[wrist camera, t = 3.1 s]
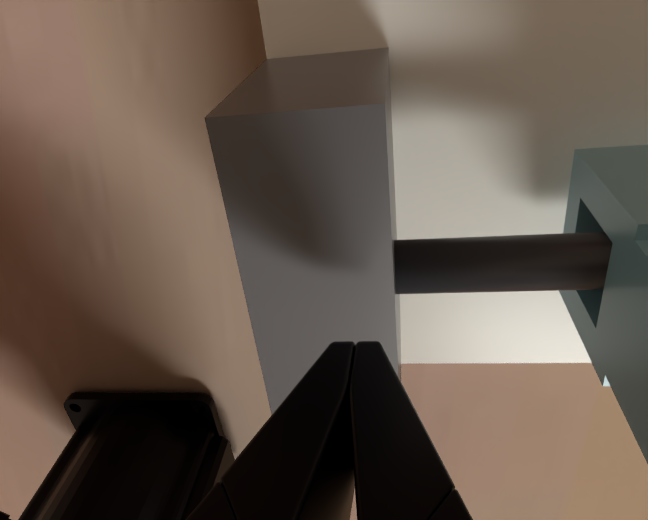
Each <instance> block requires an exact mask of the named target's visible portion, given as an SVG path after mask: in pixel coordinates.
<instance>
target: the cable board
mask: <svg viewBox="0 0 648 520" xmlns="http://www.w3.org/2000/svg"><path fill="white" fill-rule="evenodd" d="M258 6H259V13H260V19H261V26H262V32H263V38H264V45H265V51H266V58H267V59H266V60H265V61H264V62H263V63H262V64H261V65H260V66H259V67H258V68H257V69H256V70H255V71H254V72H253V73H252V74H250V75H249V76H248V77H247V78H246V79H245V80H244V81H243V82H242V83H241V84H240V85H239V86H238V87H237V88H236V89H235V90H234V91H232V92H231V93H230V94H229V95H228V96H227V97H226V98H225V99H224V100H223V101H222V102H221V103H220V104H219V105H218V106H217V107H216V108H214V109H213V110H212V111H211V112H210V113H209V114H208V115H207V116H206V117H205V121H206V126H207V130H208V135H209V139H210V143H211V148H212V152H213V157H214V161H215V166H216V170H217V174H218V179H219V183H220V188H221V192H222V197H223V201H224V205H225V210H226V214H227V219H228V223H229V228H230V232H231V236H232V241H233V245H234V250H235V254H236V259H237V263H238V267H239V272H240V276H241V281H242V285H243V289H244V294H245V298H246V303H247V307H248V312H249V316H250V320H251V325H252V329H253V334H254V338H255V343H256V347H257V351H258V356H259V360H260V365H261V369H262V374H263V378H264V382H265V387H266V391H267V396H268V400H269V405H270V409H271V413H272V414H273V413H274V412H275V411H276V409H277V408H278V407H279V406H280V404H281V403H282V402H283V401H284V400H285V398H286V397H287V396H288V395H289V393H290V392H291V391H292V390H293V389H294V387H295V386H296V385H297V384H298V382H299V381H300V380H301V379H302V378H303V376H304V375H305V374H306V373H307V371H308V370H309V369H310V368H311V366H312V365H313V364H314V363H315V362H316V360H317V359H318V358H319V357H320V355H321V354H322V353H323V352H324V351H325V349H326V348H327V347H328V346H329V344H330V343H332V342H335V341H353V342H354V343H355V344H356V343H357V342H359V341H378V342H380V343H381V345H382V346H383V348H384V350H385V352H386V354H387V356H388V358H389V360H390V362H391V364H392V366H393V368H394V370H395V371H396V373H397V375H398V377H399V379H400V381H401V363H592V362H591V360H590V357H589V355H588V353H587V351H586V349H585V347H584V344H583V342H582V340H581V338H580V336H579V334H578V331H577V329H576V327H575V325H574V323H573V321H572V318H571V316H570V314H569V312H568V310H567V307H566V305H565V303H564V301H563V299H562V297H561V294H560V292H559V291H560V290H604V285H605V280H606V275H607V269H608V264H609V259H610V254H611V249H612V244H613V243H612V241H611V240H610V239H609V237H608V236H607V234H606V233H605V232H587V233H563V230H564V223H565V215H566V208H567V201H568V194H569V186H570V179H571V172H572V165H573V158H574V150H575V149H586V148H602V147H618V146H634V145H648V0H258Z"/></svg>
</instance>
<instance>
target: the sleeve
mask: <svg viewBox="0 0 648 520" xmlns="http://www.w3.org/2000/svg"><path fill="white" fill-rule="evenodd" d="M587 232H605V233H606V234H607V236H608V237H609V239H610V240H611V241H612V243H613V244H612V249H611V254H610V259H609V264H608V269H607V275H606V280H605V285H604V290H560V291H559V292H560V294H561V297H562V299H563V301H564V303H565V305H566V307H567V310H568V312H569V314H570V316H571V318H572V321H573V323H574V325H575V327H576V329H577V331H578V334H579V336H580V338H581V340H582V342H583V344H584V347H585V349H586V351H587V353H588V355H589V357H590V360H591V362H592V364H593V366H594V368H595V370H596V373H597V375H598V377H599V379H600V381H601V384H602V386H611V388H612V390H613V392H614V394H615V396H616V399H617V401H618V403H619V405H620V407H621V409H622V411H623V413H624V415H625V417H626V420H627V422H628V424H629V426H630V428H631V430H632V432H633V434H634V436H635V438H636V440H637V443H638V445H639V447H640V449H641V451H642V453H643V455H644V457H645V459H646V461H647V463H648V145H634V146H618V147H602V148H586V149H575V150H574V158H573V165H572V172H571V179H570V186H569V194H568V201H567V208H566V215H565V223H564V230H563V233H587Z"/></svg>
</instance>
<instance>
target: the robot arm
mask: <svg viewBox="0 0 648 520" xmlns="http://www.w3.org/2000/svg"><path fill="white" fill-rule="evenodd" d="M200 405H201V406H200ZM64 408H65V410H66V412H67V414H68V416H69V418H70V420H71V422H72V424H73V426H74V428H75V430H76V431H75V433H74V434H73V436H72V438H71V439H70V441H69V442H68V444H67V445H66V447H65V448H64V450H63V451H62V453H61V454H60V456H59V458H58V459H57V461H56V462H55V464H54V465H53V467H52V468H51V470H50V471H49V473H48V475H47V476H46V478H45V479H44V481H43V482H42V484H41V485H40V487H39V488H38V490H37V491H36V493H35V495H34V496H33V498H32V499H31V501H30V502H29V504H28V505H27V507H26V508H25V510H24V512H23V513H22V515H21V516H20V518H19V519H18V520H350V513H351V507H352V501H353V494H354V488H355V494H356V508H357V520H473V519H472V517H471V515H470V514H469V512H468V510H467V508H466V506H465V504H464V502H463V500H462V498H461V496H460V494H459V493H458V491H457V490H456V489H455V486H454V483H453V482H452V480H451V478H450V476H449V474H448V472H447V470H446V468H445V466H444V464H443V462H442V460H441V458H440V456H439V455H438V453H437V451H436V449H435V447H434V445H433V443H432V441H431V439H430V437H429V435H428V433H427V431H426V429H425V427H424V426H423V424H422V422H421V420H420V418H419V416H418V414H417V412H416V410H415V408H414V406H413V404H412V402H411V400H410V399H409V397H408V395H407V393H406V391H405V389H404V387H403V385H402V383H401V381H400V379H399V377H398V375H397V373H396V371H395V370H394V368H393V366H392V364H391V362H390V360H389V358H388V356H387V354H386V352H385V350H384V348H383V346H382V345H381V343H380V342H378V341H359V342H357V343H356V344H355V343H354V342H353V341H335V342H332V343H330V344H329V346H328V347H327V348H326V349H325V351H324V352H323V353H322V354H321V355H320V357H319V358H318V359H317V360H316V362H315V363H314V364H313V365H312V366H311V368H310V369H309V370H308V371H307V373H306V374H305V375H304V376H303V378H302V379H301V380H300V381H299V382H298V384H297V385H296V386H295V387H294V389H293V390H292V391H291V392H290V393H289V395H288V396H287V397H286V398H285V400H284V401H283V402H282V403H281V404H280V406H279V407H278V408H277V409H276V411H275V412H274V413H273V414H272V416H271V417H270V418H269V419H268V420H267V422H266V423H265V424H264V425H263V427H262V428H261V429H260V430H259V431H258V433H257V434H256V435H255V436H254V438H253V439H252V440H251V441H250V442H249V444H248V445H247V446H246V447H245V449H244V450H243V451H242V452H241V454H240V455H239V456H238V457H237V458H236V460H235V459H234V456H233V453H232V449H231V446H230V442H229V440H228V439H227V438H226V437H225V436H224V434H223V430H222V427H221V424H220V420H219V417H218V414H217V410H216V407H215V404H214V401H213V399H212V398H211V397H210V396H208V395H206V394H202V393H102V392H75V393H72V394H70V395H69V396H68V398H67V399H66V401H65V402H64ZM9 516H10V515H8V514H6V513H4V512H1V511H0V520H11V519H9Z"/></svg>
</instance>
